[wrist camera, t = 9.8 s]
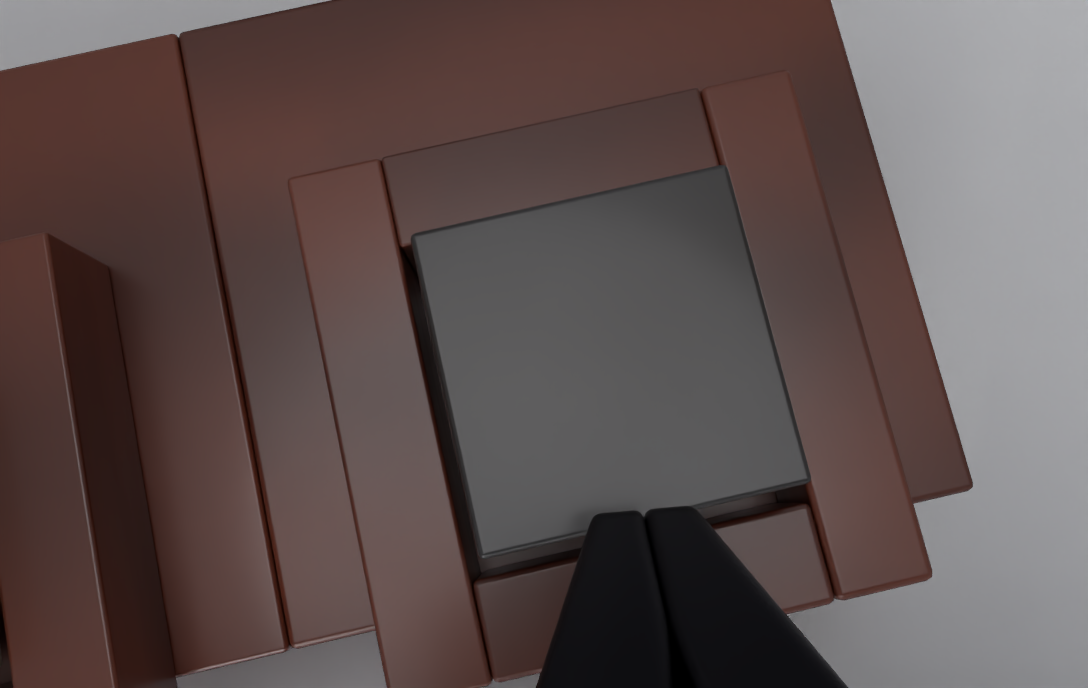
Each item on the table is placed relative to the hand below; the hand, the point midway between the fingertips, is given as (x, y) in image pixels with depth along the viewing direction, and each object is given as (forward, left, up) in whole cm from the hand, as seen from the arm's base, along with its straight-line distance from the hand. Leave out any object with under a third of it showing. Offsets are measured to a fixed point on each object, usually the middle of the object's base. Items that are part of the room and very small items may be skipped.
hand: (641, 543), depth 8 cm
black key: (+1, -1, -4) cm, 4 cm away
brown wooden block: (+3, -3, -10) cm, 11 cm away
